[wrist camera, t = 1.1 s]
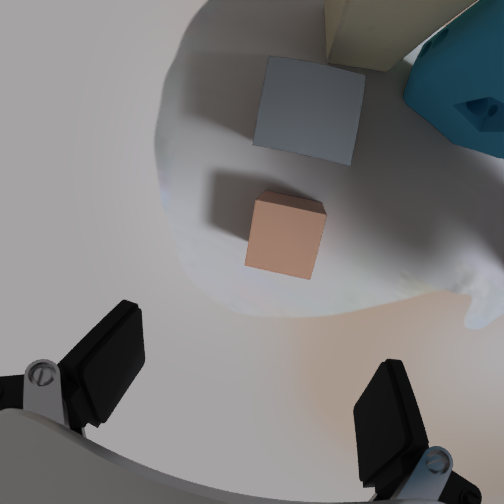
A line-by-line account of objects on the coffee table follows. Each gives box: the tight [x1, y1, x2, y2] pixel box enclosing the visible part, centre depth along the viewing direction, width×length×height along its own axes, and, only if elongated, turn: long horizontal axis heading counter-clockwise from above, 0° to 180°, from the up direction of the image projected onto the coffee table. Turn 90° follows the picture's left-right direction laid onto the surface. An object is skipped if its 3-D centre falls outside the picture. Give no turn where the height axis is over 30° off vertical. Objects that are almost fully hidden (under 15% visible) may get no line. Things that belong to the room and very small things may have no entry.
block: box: [403, 0, 504, 159], centre depth 12 cm, size 12×5×20 cm, turn 62°
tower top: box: [252, 56, 366, 166], centre depth 19 cm, size 7×7×4 cm
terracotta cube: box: [245, 191, 327, 280], centre depth 26 cm, size 6×6×6 cm
